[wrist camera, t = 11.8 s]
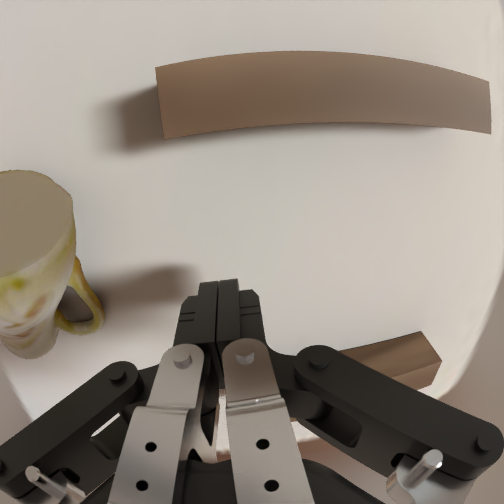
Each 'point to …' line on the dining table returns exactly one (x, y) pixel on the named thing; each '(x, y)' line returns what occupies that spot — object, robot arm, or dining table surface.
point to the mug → (38, 264)
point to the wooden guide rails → (326, 110)
